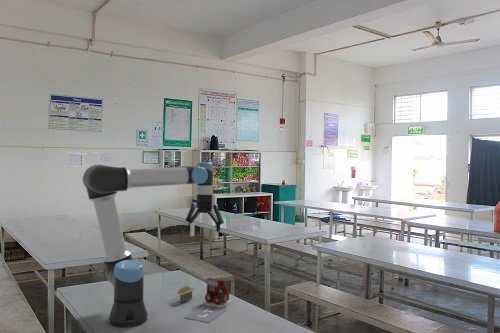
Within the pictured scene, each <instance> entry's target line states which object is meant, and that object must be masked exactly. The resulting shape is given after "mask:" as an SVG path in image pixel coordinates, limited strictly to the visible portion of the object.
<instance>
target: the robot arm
mask: <svg viewBox="0 0 500 333" xmlns="http://www.w3.org/2000/svg"><path fill="white" fill-rule="evenodd" d="M213 176H214V166H213V163H212V162H209V161H208V162H205V161H204V162H203V161H202V162H199V161H198V162H197V165H195V166H192V165H191V166H190V165H187V166H186V165H180V166H178V165H177V166H174V167H163V168H162V167H161V168H160V167H159V168H157V167H156V168H134V169H129V168H127V167H126V166H125V167H123V166H122V167H118V166H109V165H103V164H94V165H92V166H90V167H89V168H87V169H86V170H85V171H84V173H83V176H82V182H83V185H84V186H85V188H86V192H87V196H88V200H90V201H91V202H93V205H94V208H95V209H94V210H95V214H96V217H97V218H96V219H97V220H98V221H97V223H98V225H99V229H100V235H101V237H102V238H101V239H102V244H103V247H104V251H105V257H104V258H103V264H104V275H105V278H106V279H107V281H108V282H109V283H110V284H111V285H112V286H113V304H112V307H111V310H110V314H109V316H108V323H109V324H110V325H111V326H113V327H118V328H130V327H136V326H139V325H142V324H143V323H145V322H147V320H148V311H147V309H146V305H145V301H144V283H145V282H144V278H145V277H144V275H145V270H144V265H143V263H142V262H140V261H137V260H133V256H132V252H131V251H130V250H128V249H127V247H126V242H125V238H124V234H123V233H124V232H123V229H122V225H121V222H120V216H119V212H118V207H117V204H116V198H115V197H116V195H117V194H118V192H126V191H128V190H129V189H131V188H133V189H134V188H146V187H148V188H150V187H161V186H163V187H164V186H177V185H194V184H196V187H197V188H196V193H197V194H196V202H192V203H191V204H190V209H189V212H188V214H187V215H186V218H185V222H188V230H189V236H190V237H194V236H195V226H196V223H195V220H196V219H197V217H198V216H199V215H200V214H208V215H209V216H210V218H211V219H212V221H213V223H214V224H215V225H214V230H213V231H214V233H213V234H214V238H213V239H214V240H217V239H219V232H220V231H221V225H222V224H223V225H224V223H225V222H224V219H223V216H222V214H221V211H220V209H219V204H217V203H215V204H213V187H214V186H213V182H214V181H213ZM196 208H197V209H196ZM195 210H196V211H195Z"/></svg>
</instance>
